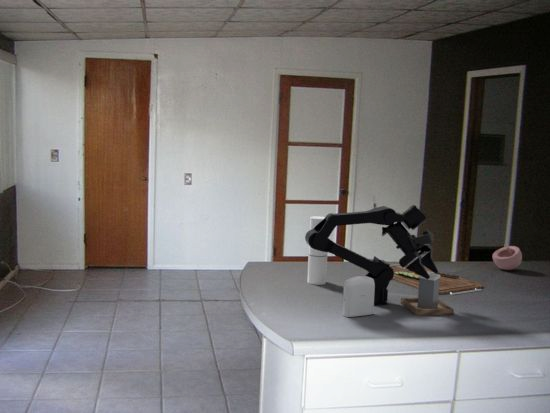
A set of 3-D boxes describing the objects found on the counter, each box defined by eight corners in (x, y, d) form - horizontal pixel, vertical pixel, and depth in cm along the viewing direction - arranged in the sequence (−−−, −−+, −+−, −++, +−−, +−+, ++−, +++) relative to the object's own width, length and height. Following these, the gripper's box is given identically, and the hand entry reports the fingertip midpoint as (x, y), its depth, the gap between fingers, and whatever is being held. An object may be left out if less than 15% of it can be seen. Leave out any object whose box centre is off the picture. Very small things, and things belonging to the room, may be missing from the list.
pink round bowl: (485, 267, 250) (487, 242, 249) (507, 266, 254) (509, 241, 252) (504, 273, 239) (506, 247, 237) (526, 272, 242) (529, 246, 241)
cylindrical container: (326, 280, 216) (329, 216, 213) (325, 285, 209) (329, 219, 206) (307, 279, 217) (310, 215, 214) (306, 284, 210) (309, 218, 207)
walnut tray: (415, 315, 177) (415, 309, 177) (400, 303, 190) (400, 297, 190) (453, 314, 179) (453, 309, 179) (436, 302, 192) (436, 297, 191)
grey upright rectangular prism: (432, 310, 180) (434, 277, 179) (417, 307, 183) (419, 274, 182) (437, 307, 185) (440, 274, 183) (422, 303, 188) (425, 272, 186)
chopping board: (361, 270, 238) (361, 263, 237) (407, 265, 251) (408, 258, 251) (440, 298, 199) (441, 289, 199) (490, 290, 213) (491, 282, 212)
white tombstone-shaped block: (347, 318, 171) (349, 279, 170) (340, 314, 175) (342, 276, 174) (375, 315, 176) (377, 277, 174) (367, 311, 180) (370, 273, 178)
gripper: (410, 226, 175) (443, 266, 171) (428, 220, 191) (459, 256, 186) (385, 248, 180) (417, 286, 176) (405, 239, 196) (434, 275, 191)
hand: (433, 275), depth 182 cm, fingers open, 9 cm apart
